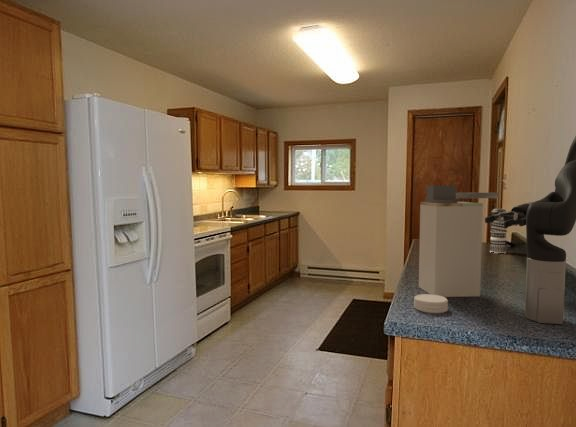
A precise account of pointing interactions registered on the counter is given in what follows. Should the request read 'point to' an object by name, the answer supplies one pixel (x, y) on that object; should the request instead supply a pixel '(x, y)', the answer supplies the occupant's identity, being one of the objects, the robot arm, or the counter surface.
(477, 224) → the cabinet
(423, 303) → the coaster
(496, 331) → the counter surface
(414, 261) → the counter surface
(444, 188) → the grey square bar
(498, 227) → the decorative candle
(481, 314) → the counter surface
